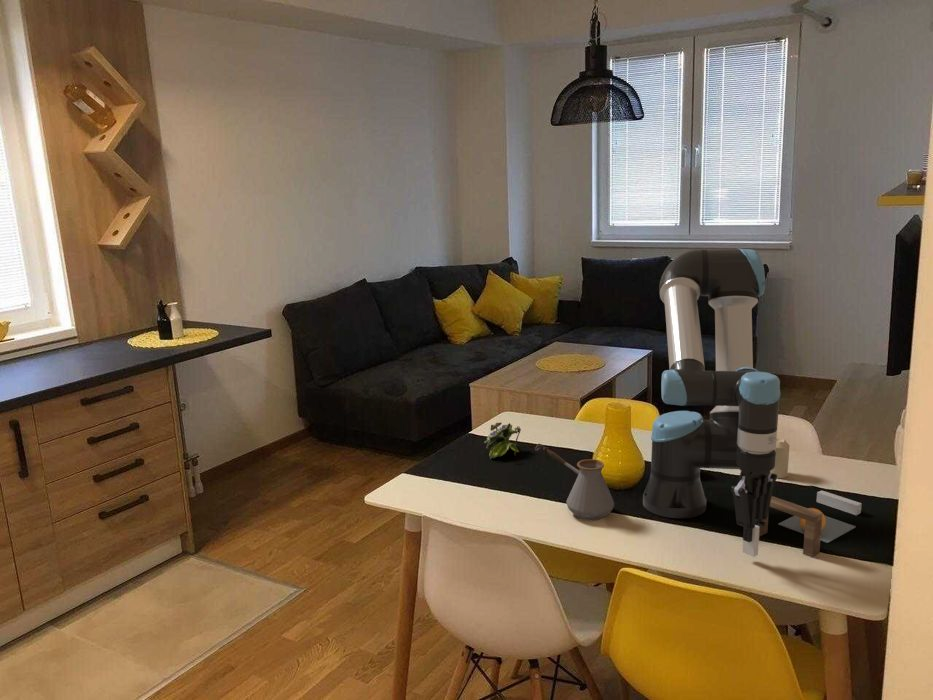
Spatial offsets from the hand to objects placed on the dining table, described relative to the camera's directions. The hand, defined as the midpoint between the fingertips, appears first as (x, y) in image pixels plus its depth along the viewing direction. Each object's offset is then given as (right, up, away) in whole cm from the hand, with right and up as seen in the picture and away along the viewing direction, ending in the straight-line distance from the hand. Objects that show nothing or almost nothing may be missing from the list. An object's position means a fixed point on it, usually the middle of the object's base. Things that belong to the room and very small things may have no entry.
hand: (750, 553), depth 166 cm
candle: (+23, +9, +45) cm, 51 cm away
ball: (+19, +4, +12) cm, 23 cm away
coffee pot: (-34, +4, +28) cm, 44 cm away
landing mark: (+21, +2, +15) cm, 26 cm away
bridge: (+11, 0, +8) cm, 13 cm away
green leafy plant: (-49, +12, +66) cm, 83 cm away
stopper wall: (+30, +5, +24) cm, 39 cm away
